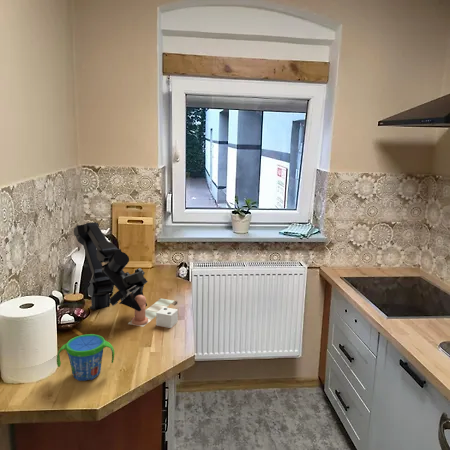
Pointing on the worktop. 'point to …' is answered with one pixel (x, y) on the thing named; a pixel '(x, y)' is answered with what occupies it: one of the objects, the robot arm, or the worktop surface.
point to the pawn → (140, 315)
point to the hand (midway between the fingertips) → (143, 308)
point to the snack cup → (85, 355)
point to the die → (167, 317)
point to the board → (156, 309)
